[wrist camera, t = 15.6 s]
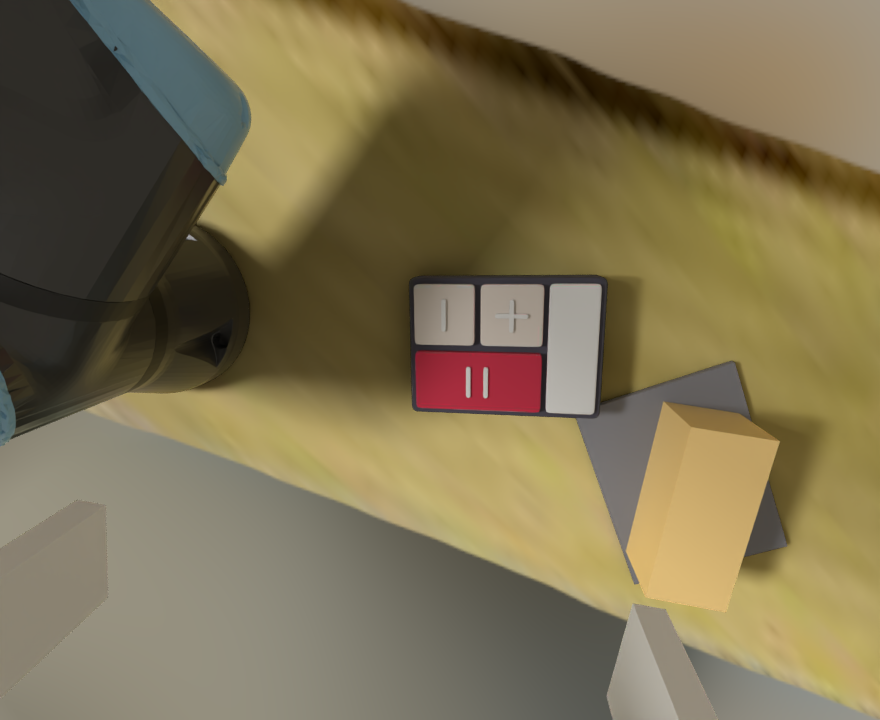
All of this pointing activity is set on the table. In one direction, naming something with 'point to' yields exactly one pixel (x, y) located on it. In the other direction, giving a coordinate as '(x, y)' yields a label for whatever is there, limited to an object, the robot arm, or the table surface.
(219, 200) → the table surface
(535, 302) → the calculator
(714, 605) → the ochre block
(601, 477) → the charcoal mat
